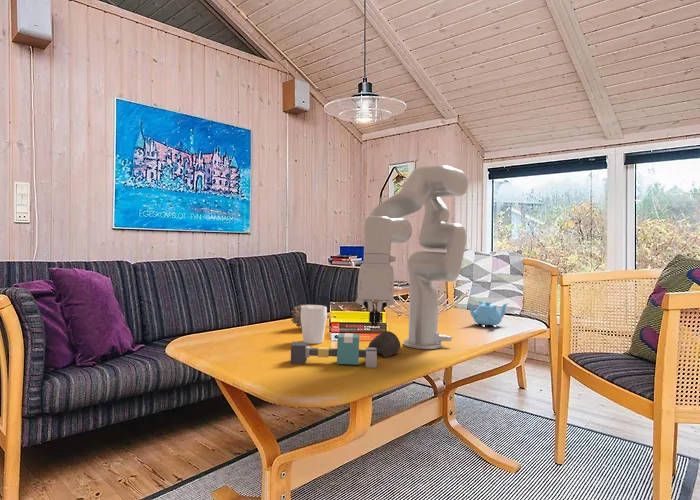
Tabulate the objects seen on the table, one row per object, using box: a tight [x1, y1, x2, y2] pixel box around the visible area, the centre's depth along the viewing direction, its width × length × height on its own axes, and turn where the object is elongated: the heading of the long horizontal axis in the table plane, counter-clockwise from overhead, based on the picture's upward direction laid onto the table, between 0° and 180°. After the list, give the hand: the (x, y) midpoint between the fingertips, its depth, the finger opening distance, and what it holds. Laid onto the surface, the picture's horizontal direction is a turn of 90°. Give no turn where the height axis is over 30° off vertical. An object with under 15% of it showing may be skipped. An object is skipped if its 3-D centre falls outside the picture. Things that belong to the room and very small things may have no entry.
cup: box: [300, 304, 328, 345], centre depth 160 cm, size 9×9×12 cm
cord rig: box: [290, 341, 378, 369], centre depth 133 cm, size 24×7×5 cm, turn 88°
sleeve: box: [336, 332, 360, 365], centre depth 133 cm, size 6×5×8 cm
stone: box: [367, 330, 401, 359], centre depth 145 cm, size 10×8×10 cm
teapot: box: [468, 299, 509, 326], centre depth 198 cm, size 13×13×10 cm
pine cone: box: [290, 303, 331, 329], centre depth 184 cm, size 22×10×10 cm, turn 136°
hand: (374, 325), depth 132 cm, fingers closed
